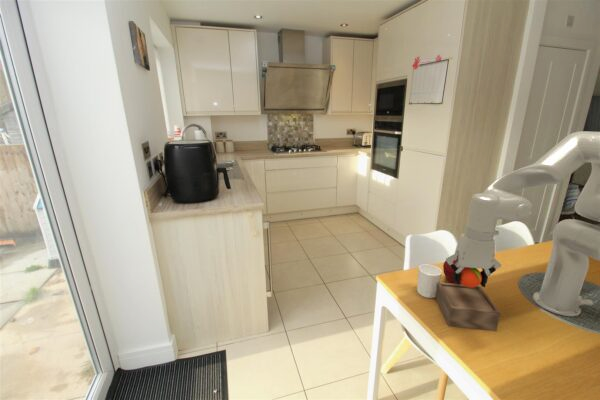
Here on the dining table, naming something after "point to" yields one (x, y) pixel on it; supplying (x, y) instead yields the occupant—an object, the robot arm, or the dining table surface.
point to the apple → (449, 272)
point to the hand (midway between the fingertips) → (468, 283)
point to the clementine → (470, 277)
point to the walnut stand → (466, 307)
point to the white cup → (428, 280)
